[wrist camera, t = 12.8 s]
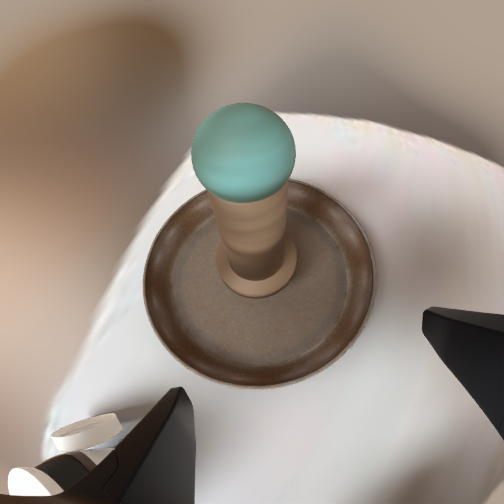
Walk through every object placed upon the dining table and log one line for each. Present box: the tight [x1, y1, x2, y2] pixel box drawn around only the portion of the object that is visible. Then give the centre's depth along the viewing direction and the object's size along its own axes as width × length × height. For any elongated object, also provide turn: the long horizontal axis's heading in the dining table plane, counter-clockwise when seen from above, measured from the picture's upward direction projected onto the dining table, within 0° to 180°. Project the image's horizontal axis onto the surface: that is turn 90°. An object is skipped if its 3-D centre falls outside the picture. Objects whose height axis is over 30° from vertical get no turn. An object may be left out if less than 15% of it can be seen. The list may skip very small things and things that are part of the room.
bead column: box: [191, 103, 297, 299], centre depth 16 cm, size 6×6×14 cm
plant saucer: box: [143, 179, 376, 390], centre depth 24 cm, size 21×21×3 cm
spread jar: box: [8, 413, 122, 496], centre depth 11 cm, size 12×11×12 cm
